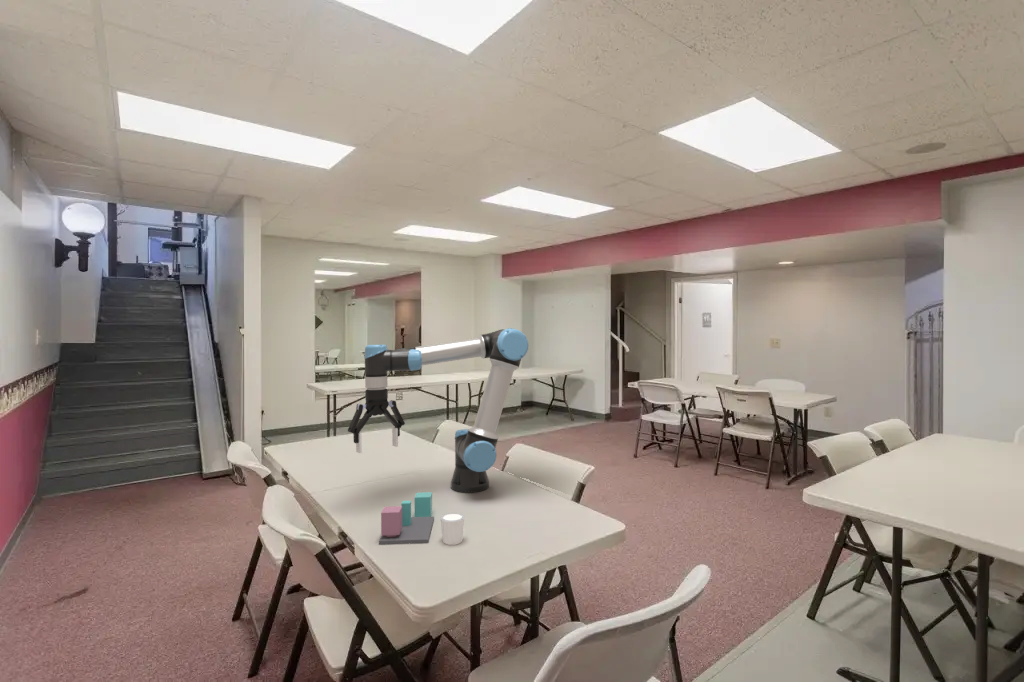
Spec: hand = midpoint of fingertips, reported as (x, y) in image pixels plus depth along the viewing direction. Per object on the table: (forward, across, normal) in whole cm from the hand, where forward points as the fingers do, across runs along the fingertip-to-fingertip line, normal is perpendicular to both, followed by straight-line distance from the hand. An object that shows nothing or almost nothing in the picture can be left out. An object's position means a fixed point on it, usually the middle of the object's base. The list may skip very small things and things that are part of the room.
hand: (377, 449), depth 168 cm
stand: (+21, +3, +26) cm, 33 cm away
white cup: (+21, -3, +40) cm, 46 cm away
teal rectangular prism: (+21, -8, +16) cm, 28 cm away
